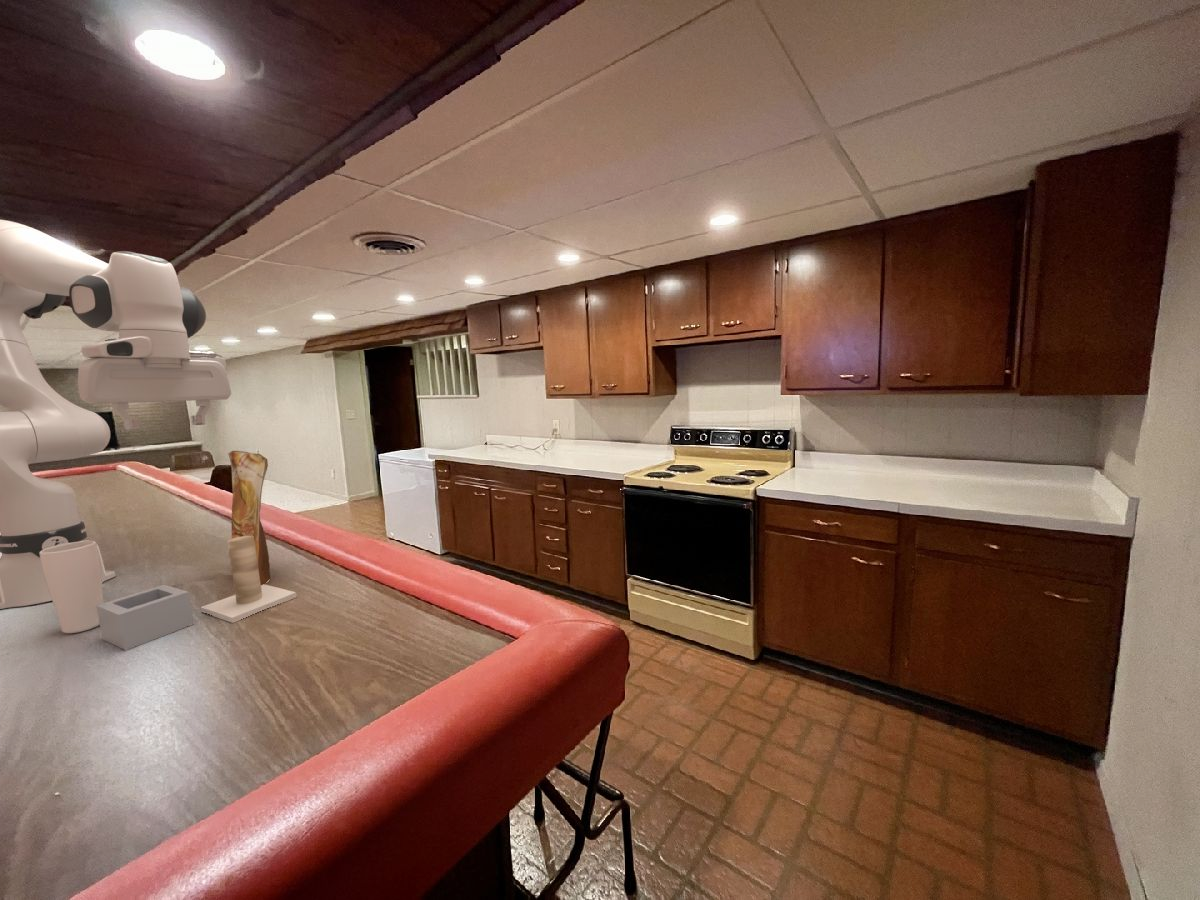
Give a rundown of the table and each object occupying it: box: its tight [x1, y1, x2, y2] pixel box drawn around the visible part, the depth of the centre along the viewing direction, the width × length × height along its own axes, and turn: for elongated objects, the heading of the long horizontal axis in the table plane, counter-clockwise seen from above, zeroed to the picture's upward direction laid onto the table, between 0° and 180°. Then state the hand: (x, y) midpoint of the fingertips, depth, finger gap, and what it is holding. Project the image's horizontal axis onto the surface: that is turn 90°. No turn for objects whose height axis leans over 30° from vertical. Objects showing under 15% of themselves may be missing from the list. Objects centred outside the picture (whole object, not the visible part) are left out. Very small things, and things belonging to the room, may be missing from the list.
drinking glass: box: [39, 540, 104, 634], centre depth 83 cm, size 7×7×15 cm
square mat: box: [200, 584, 297, 624], centre depth 90 cm, size 11×11×1 cm
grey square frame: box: [96, 584, 195, 651], centre depth 81 cm, size 9×9×6 cm
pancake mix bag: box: [227, 450, 271, 585], centre depth 103 cm, size 7×19×28 cm, turn 48°
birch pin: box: [226, 536, 262, 604], centre depth 89 cm, size 4×4×12 cm
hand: (167, 427), depth 85 cm, fingers open, 8 cm apart
